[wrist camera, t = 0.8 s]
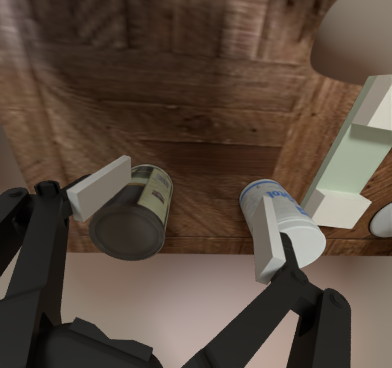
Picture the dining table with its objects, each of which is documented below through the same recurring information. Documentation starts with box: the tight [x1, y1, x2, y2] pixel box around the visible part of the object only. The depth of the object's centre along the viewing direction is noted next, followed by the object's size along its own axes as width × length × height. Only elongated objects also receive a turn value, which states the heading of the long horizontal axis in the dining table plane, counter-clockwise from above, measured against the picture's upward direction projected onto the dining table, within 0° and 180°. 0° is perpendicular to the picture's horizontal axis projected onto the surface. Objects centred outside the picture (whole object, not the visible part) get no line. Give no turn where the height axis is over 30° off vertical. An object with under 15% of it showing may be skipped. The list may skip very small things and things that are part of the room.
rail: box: [300, 75, 392, 229], centre depth 33 cm, size 27×10×4 cm, turn 171°
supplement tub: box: [239, 179, 326, 268], centre depth 32 cm, size 10×10×15 cm
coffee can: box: [88, 164, 173, 261], centre depth 30 cm, size 10×10×14 cm
